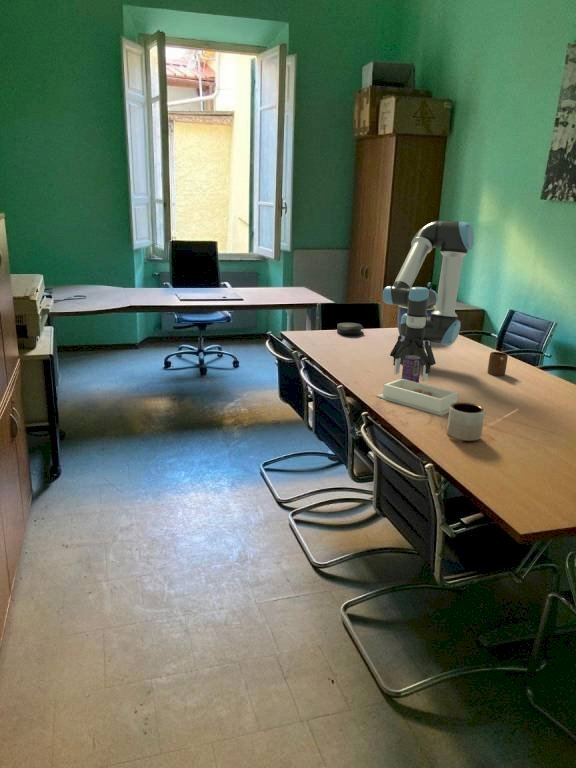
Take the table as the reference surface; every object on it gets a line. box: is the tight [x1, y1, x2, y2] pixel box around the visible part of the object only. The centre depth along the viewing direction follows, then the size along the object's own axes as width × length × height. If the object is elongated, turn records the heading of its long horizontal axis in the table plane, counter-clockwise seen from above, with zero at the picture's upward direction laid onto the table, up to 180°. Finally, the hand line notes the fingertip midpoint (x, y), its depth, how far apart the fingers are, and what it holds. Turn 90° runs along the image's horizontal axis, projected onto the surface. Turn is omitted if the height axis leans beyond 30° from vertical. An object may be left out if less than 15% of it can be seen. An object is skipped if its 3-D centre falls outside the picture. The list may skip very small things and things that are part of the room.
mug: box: [487, 351, 509, 377], centre depth 255 cm, size 12×8×9 cm, turn 175°
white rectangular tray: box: [375, 378, 459, 417], centre depth 217 cm, size 28×16×5 cm, turn 47°
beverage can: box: [401, 355, 422, 383], centre depth 236 cm, size 7×7×12 cm
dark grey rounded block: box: [336, 322, 364, 338], centre depth 324 cm, size 14×18×8 cm
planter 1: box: [397, 305, 436, 335], centre depth 318 cm, size 21×21×19 cm
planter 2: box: [446, 401, 485, 442], centre depth 184 cm, size 11×11×10 cm
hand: (410, 377), depth 237 cm, fingers open, 13 cm apart
